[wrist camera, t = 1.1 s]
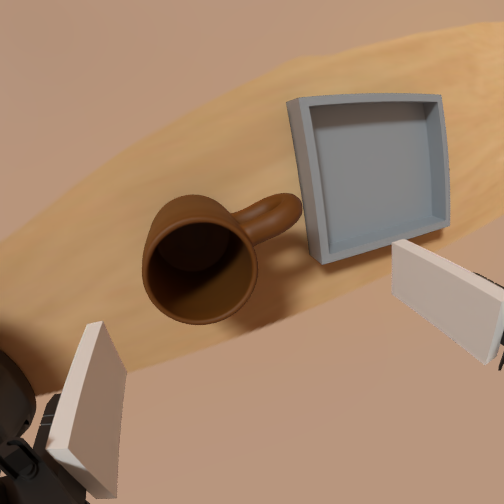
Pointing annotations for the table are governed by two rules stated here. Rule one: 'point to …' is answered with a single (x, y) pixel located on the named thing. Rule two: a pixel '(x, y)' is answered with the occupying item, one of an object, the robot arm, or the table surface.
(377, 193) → the tray
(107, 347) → the robot arm
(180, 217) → the mug
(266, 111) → the table surface
